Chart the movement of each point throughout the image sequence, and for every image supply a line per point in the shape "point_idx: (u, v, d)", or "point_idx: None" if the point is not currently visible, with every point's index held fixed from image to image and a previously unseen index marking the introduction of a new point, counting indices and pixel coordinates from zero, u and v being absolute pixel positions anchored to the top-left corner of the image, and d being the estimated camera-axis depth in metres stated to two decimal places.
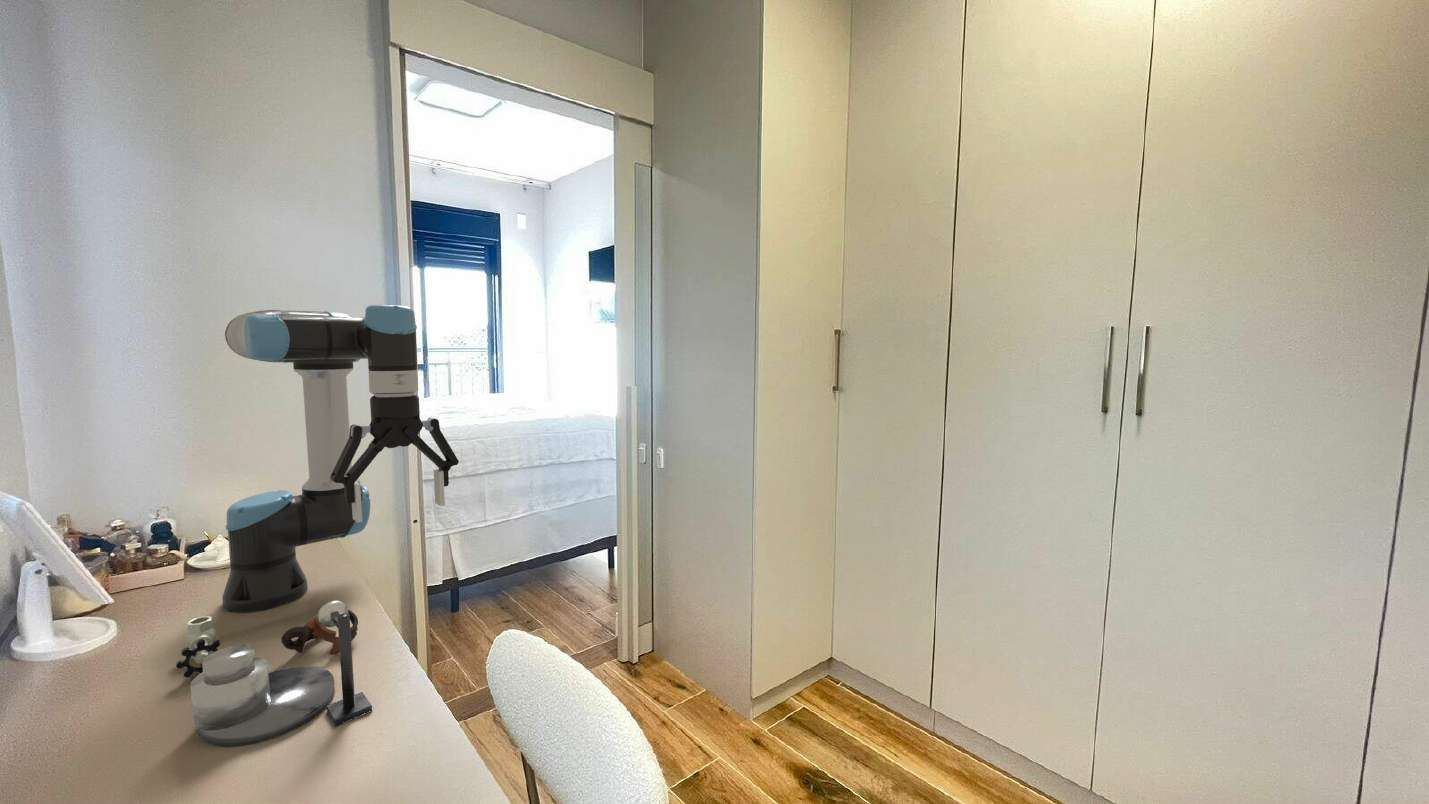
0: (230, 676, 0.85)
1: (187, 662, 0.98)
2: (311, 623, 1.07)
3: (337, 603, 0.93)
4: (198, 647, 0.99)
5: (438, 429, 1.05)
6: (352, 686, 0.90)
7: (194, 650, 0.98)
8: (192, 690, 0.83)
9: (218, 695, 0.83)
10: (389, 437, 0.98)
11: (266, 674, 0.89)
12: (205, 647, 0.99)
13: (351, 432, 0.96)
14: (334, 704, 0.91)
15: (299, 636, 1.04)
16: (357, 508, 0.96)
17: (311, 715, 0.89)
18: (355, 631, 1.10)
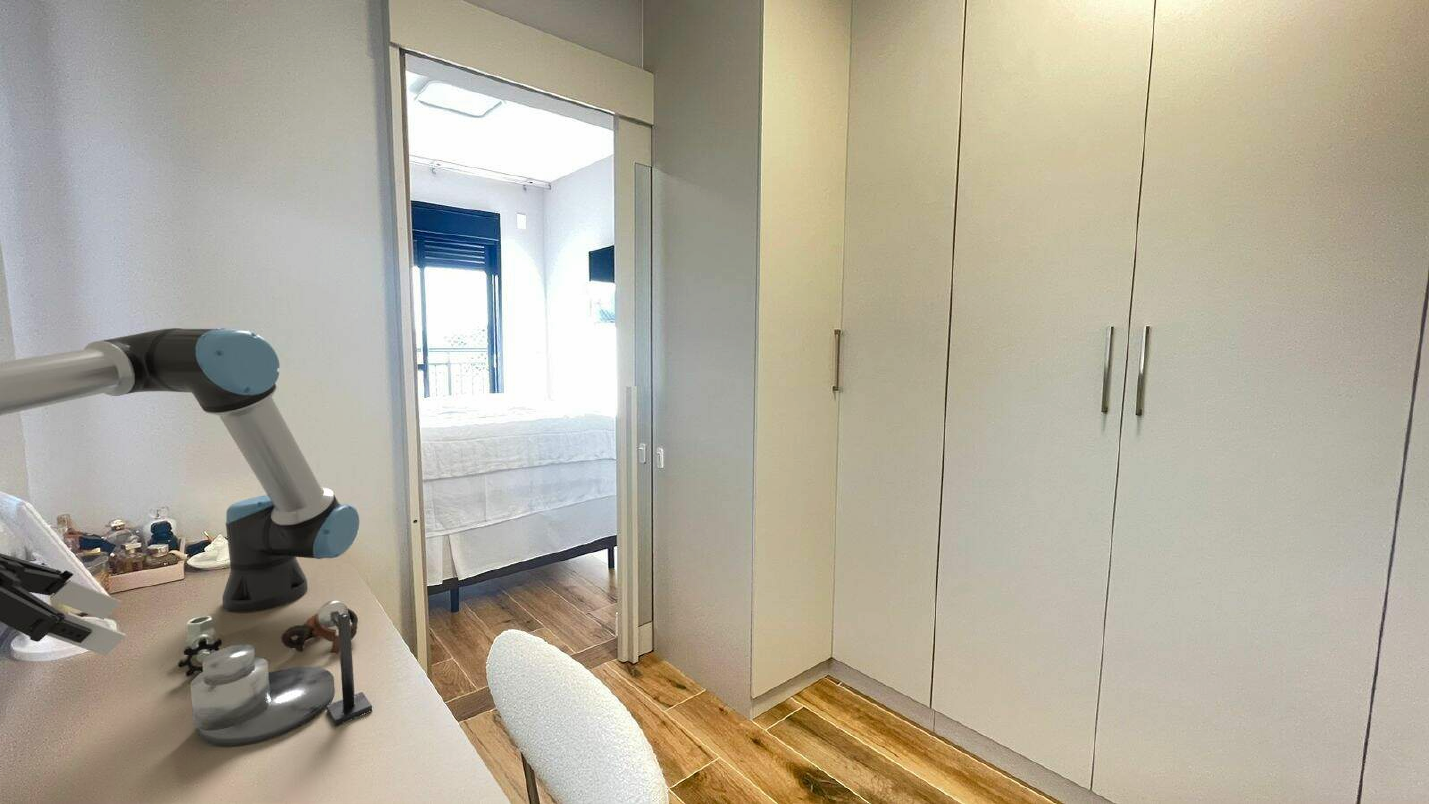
0: (230, 676, 0.85)
1: (189, 661, 0.98)
2: (311, 622, 1.07)
3: (337, 603, 0.93)
4: (200, 646, 0.99)
5: None
6: (352, 686, 0.90)
7: (196, 649, 0.99)
8: (192, 690, 0.83)
9: (218, 695, 0.83)
10: None
11: (266, 674, 0.89)
12: (207, 646, 1.00)
13: None
14: (334, 704, 0.91)
15: (299, 635, 1.05)
16: None
17: (311, 715, 0.89)
18: (355, 630, 1.11)
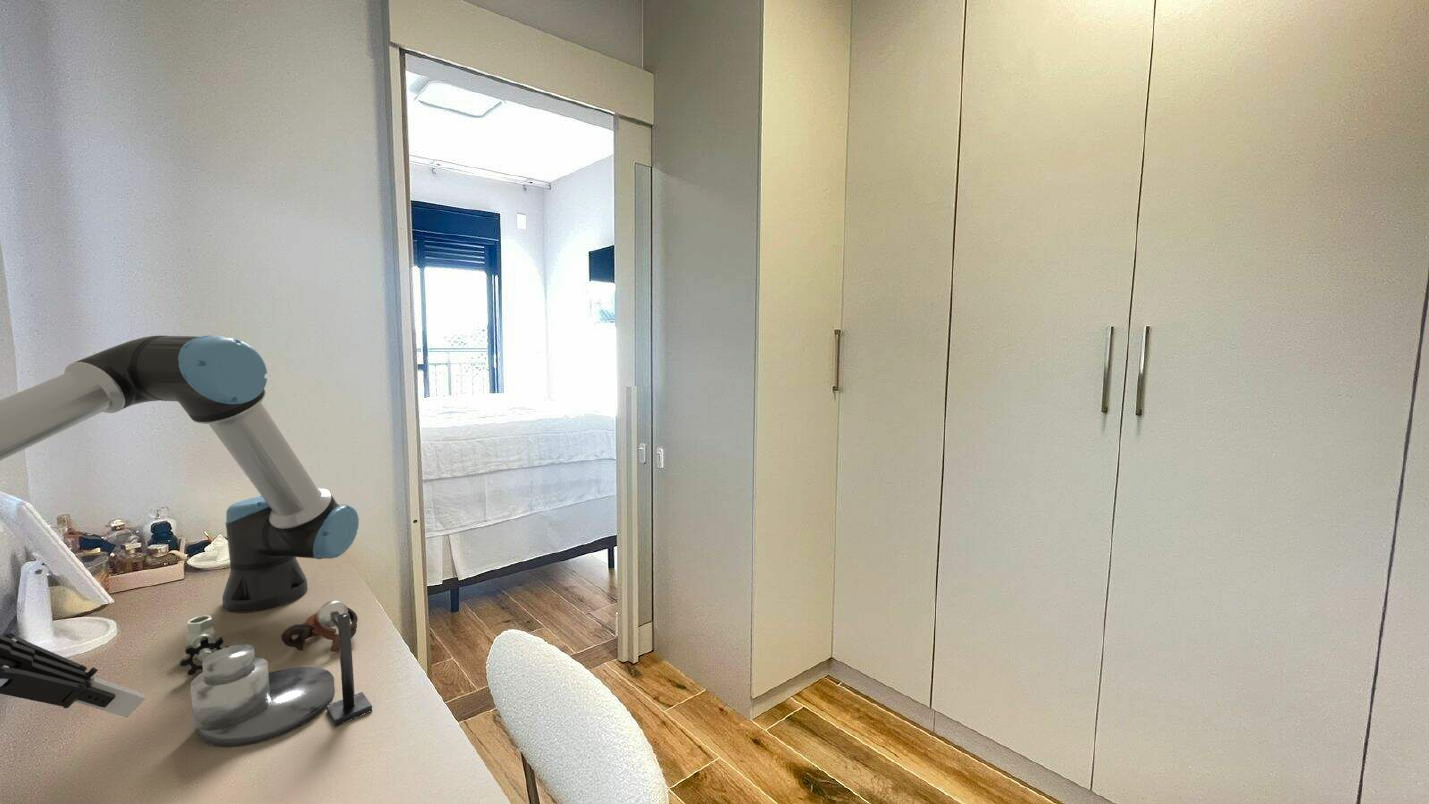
0: (230, 676, 0.85)
1: (191, 660, 0.98)
2: (311, 621, 1.07)
3: (337, 603, 0.93)
4: (201, 645, 0.99)
5: None
6: (352, 686, 0.90)
7: (198, 648, 0.99)
8: (192, 690, 0.83)
9: (218, 695, 0.83)
10: None
11: (266, 674, 0.89)
12: (209, 645, 1.00)
13: None
14: (334, 704, 0.91)
15: (299, 634, 1.05)
16: None
17: (311, 715, 0.89)
18: (354, 629, 1.11)
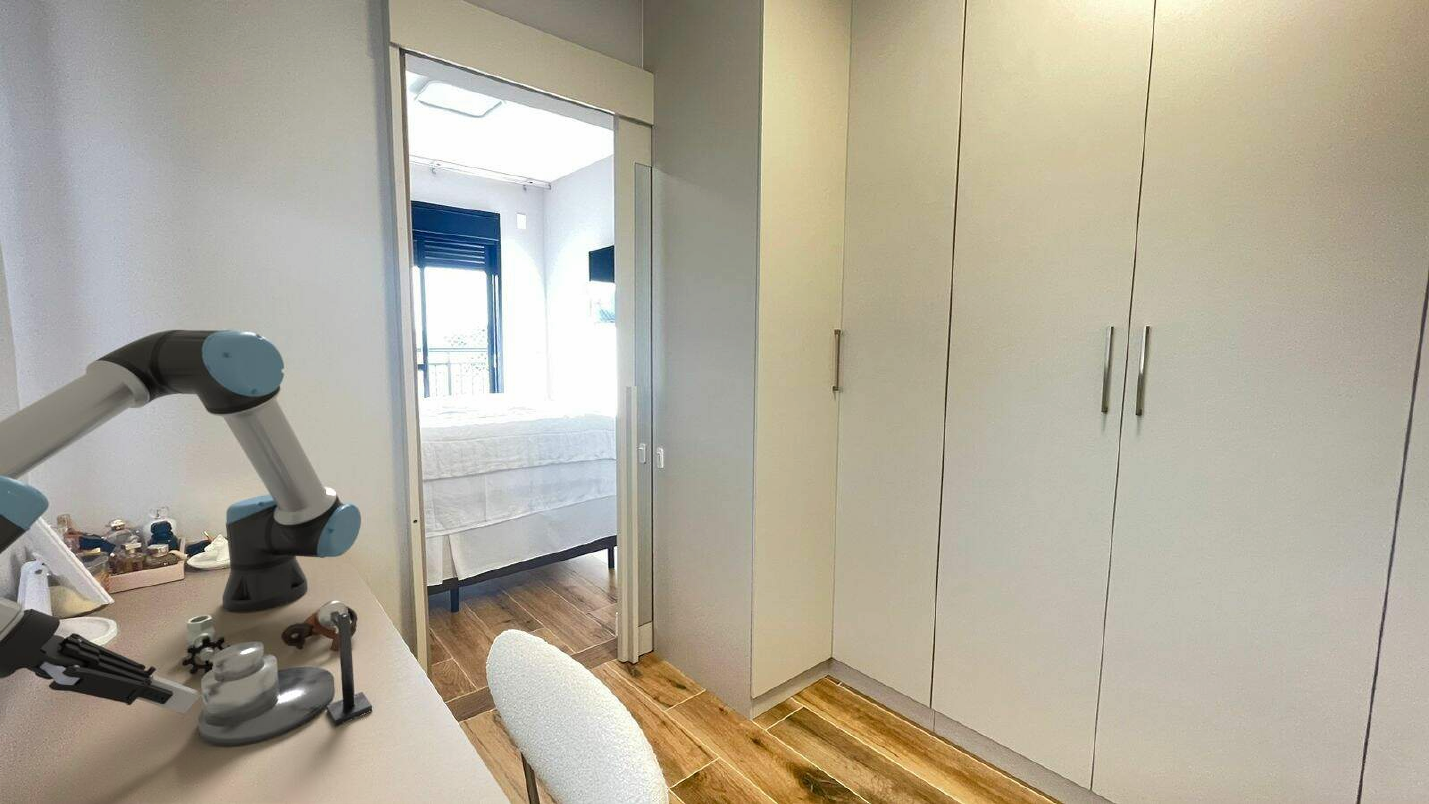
0: (240, 672, 0.85)
1: (193, 659, 0.99)
2: (311, 620, 1.08)
3: (337, 603, 0.93)
4: (203, 644, 0.99)
5: None
6: (352, 686, 0.90)
7: (199, 647, 0.99)
8: (203, 686, 0.84)
9: (229, 691, 0.84)
10: None
11: (275, 670, 0.90)
12: (210, 644, 1.00)
13: None
14: (334, 704, 0.91)
15: (299, 633, 1.06)
16: None
17: (311, 715, 0.89)
18: (354, 627, 1.12)
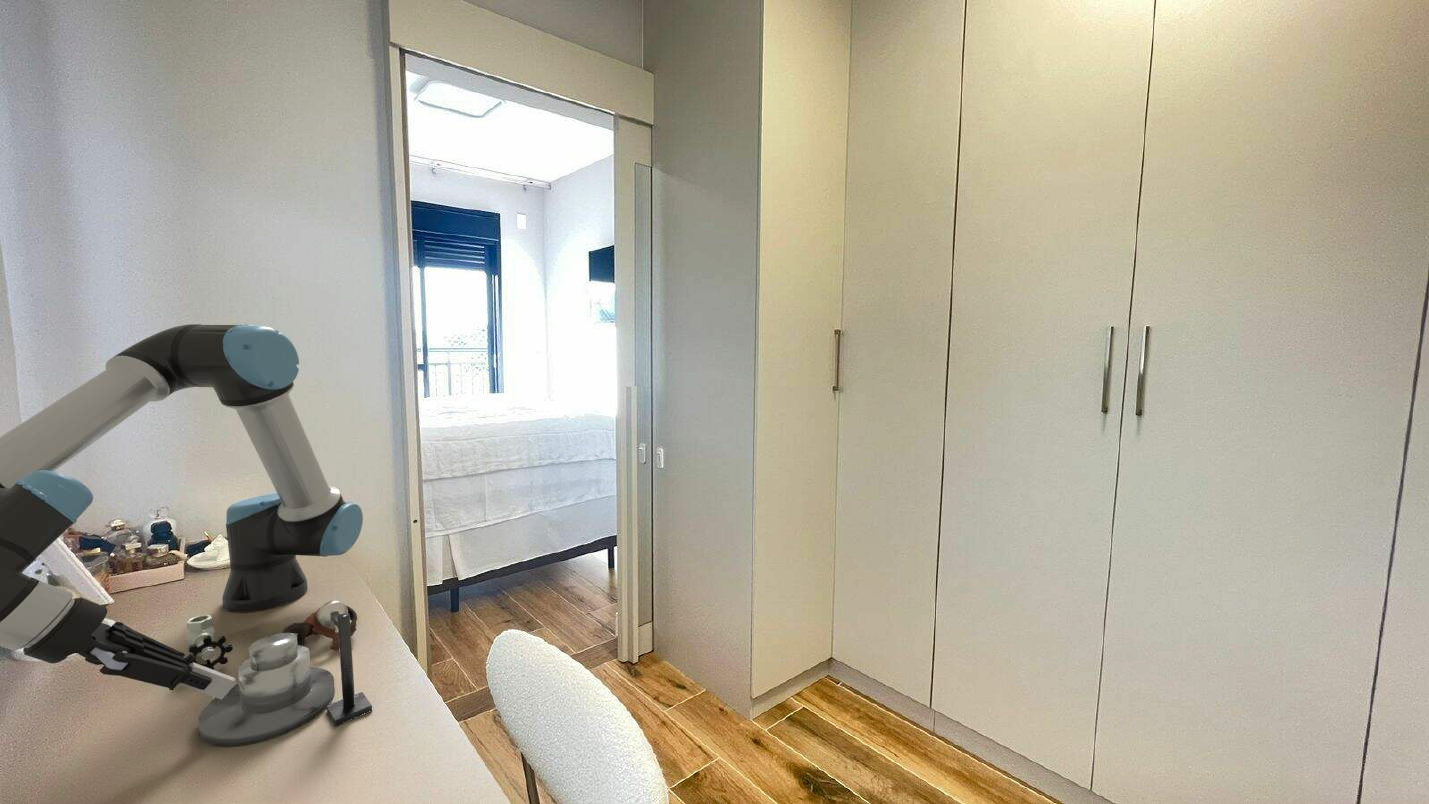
0: (274, 663, 0.88)
1: (194, 658, 0.99)
2: (311, 619, 1.08)
3: (337, 603, 0.93)
4: (205, 643, 1.00)
5: None
6: (352, 686, 0.90)
7: (201, 646, 0.99)
8: (239, 675, 0.87)
9: (263, 680, 0.86)
10: None
11: (308, 662, 0.92)
12: (212, 643, 1.00)
13: None
14: (334, 704, 0.91)
15: (299, 632, 1.06)
16: None
17: (311, 715, 0.89)
18: (354, 627, 1.12)
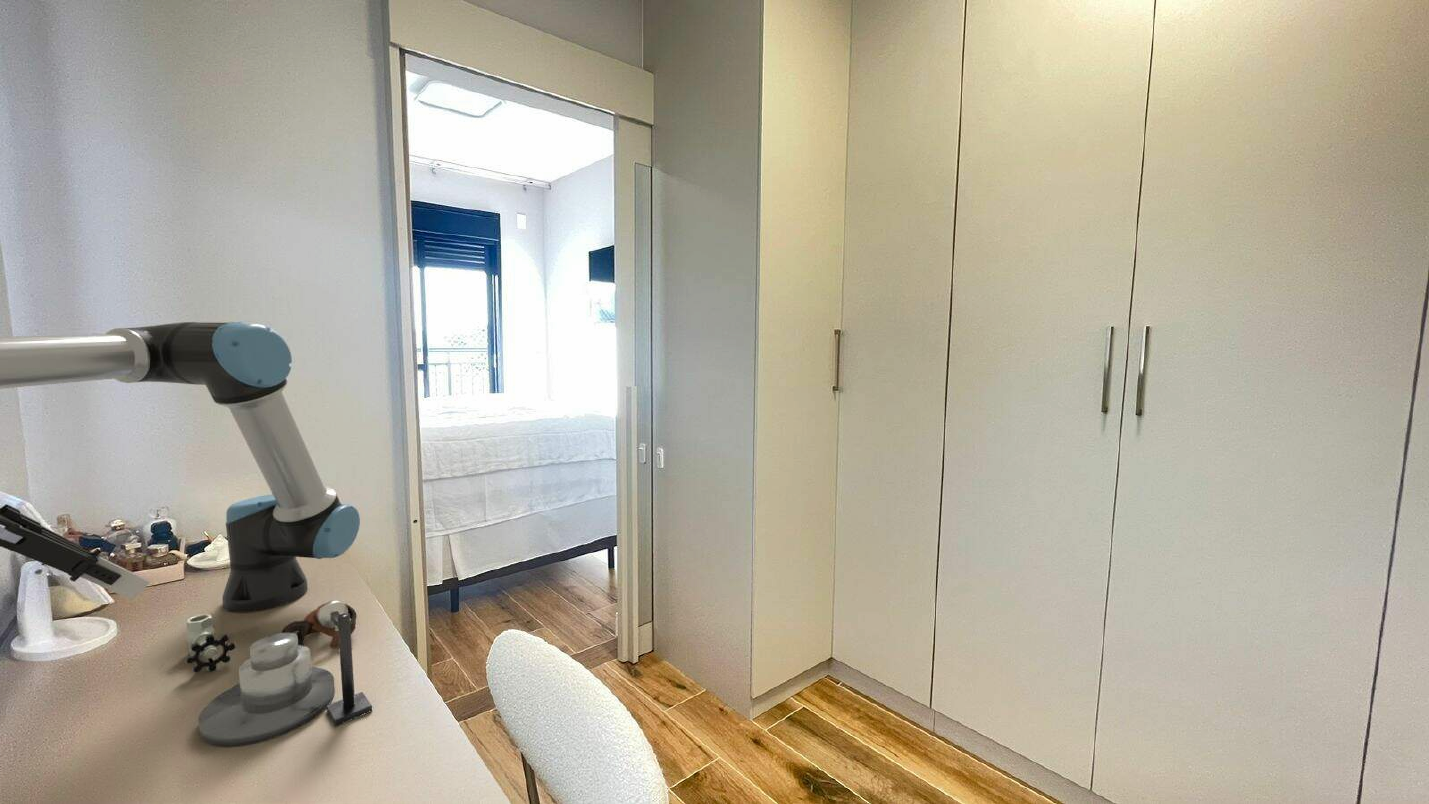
0: (275, 662, 0.88)
1: (197, 657, 0.99)
2: (310, 617, 1.09)
3: (337, 603, 0.93)
4: (207, 642, 1.00)
5: (8, 548, 0.67)
6: (352, 686, 0.90)
7: (204, 645, 1.00)
8: (240, 675, 0.87)
9: (264, 680, 0.86)
10: None
11: (308, 662, 0.92)
12: (214, 642, 1.01)
13: None
14: (334, 704, 0.91)
15: (299, 630, 1.06)
16: None
17: (311, 715, 0.89)
18: (354, 625, 1.13)
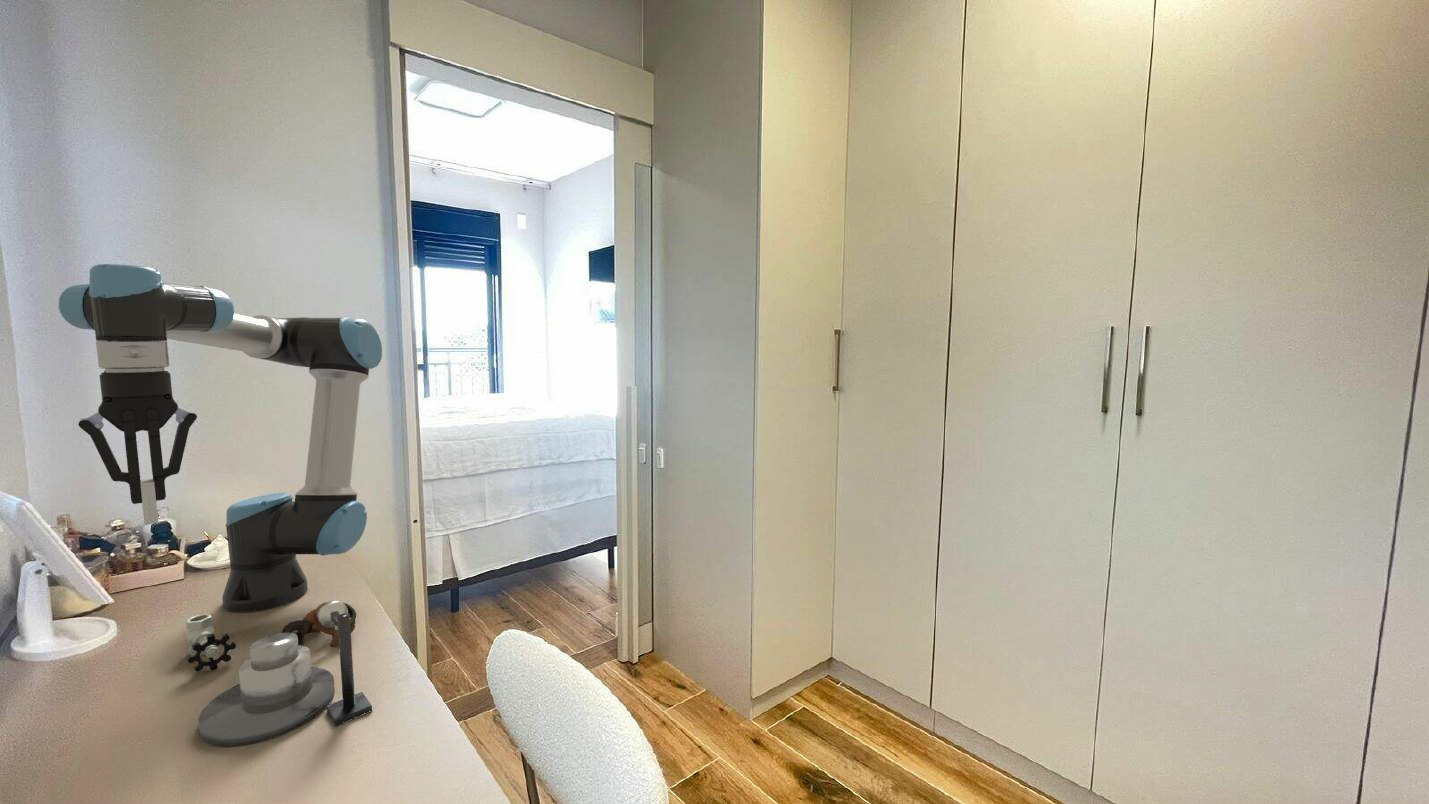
0: (275, 662, 0.88)
1: (198, 656, 1.00)
2: (310, 617, 1.09)
3: (337, 603, 0.93)
4: (208, 641, 1.00)
5: (188, 426, 0.90)
6: (352, 686, 0.90)
7: (205, 644, 1.00)
8: (240, 675, 0.87)
9: (264, 680, 0.86)
10: (130, 420, 0.85)
11: (308, 662, 0.92)
12: (215, 641, 1.01)
13: None
14: (334, 704, 0.91)
15: (299, 629, 1.07)
16: (144, 509, 0.87)
17: (311, 715, 0.89)
18: (353, 624, 1.13)
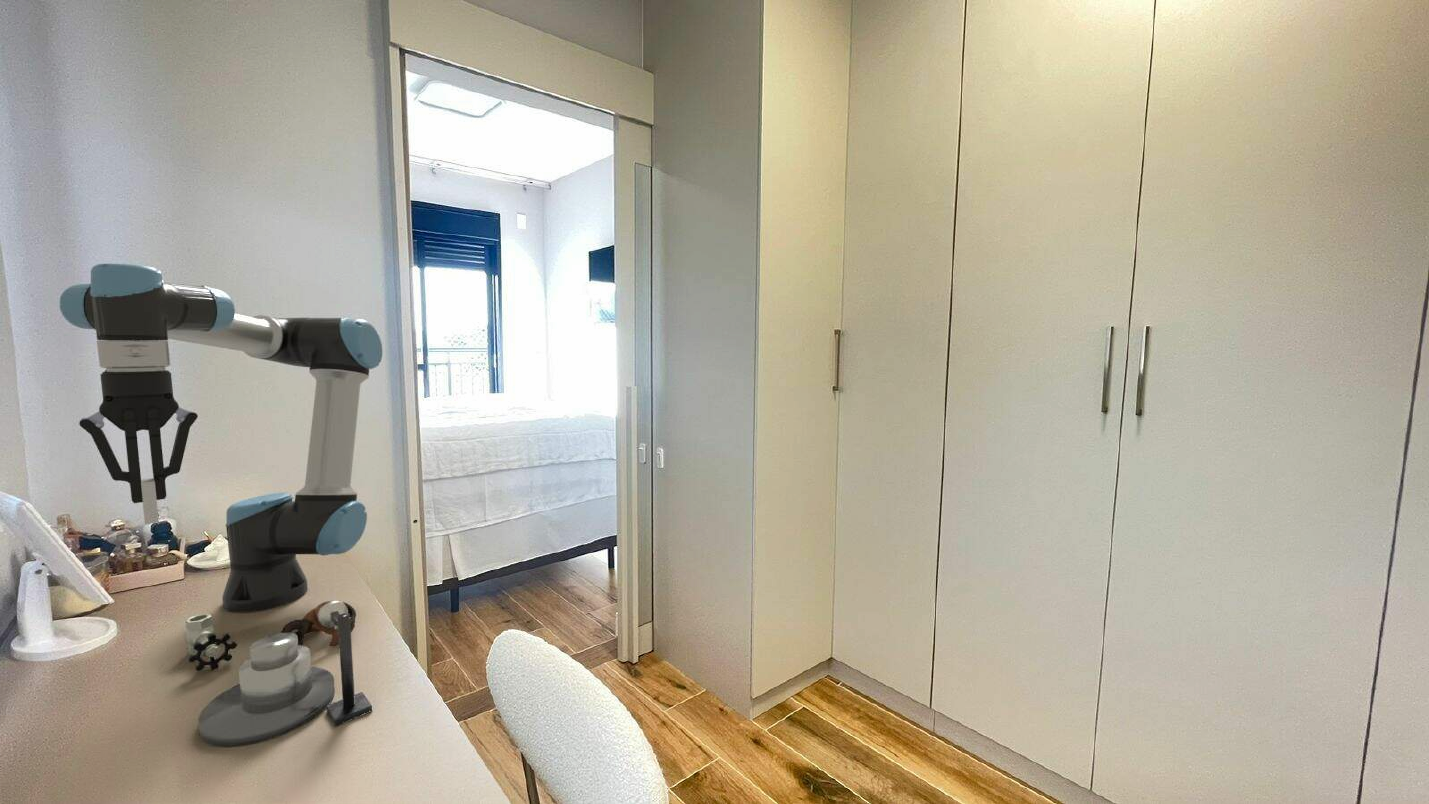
0: (275, 662, 0.88)
1: (199, 656, 1.00)
2: (310, 616, 1.09)
3: (337, 603, 0.93)
4: (209, 641, 1.01)
5: (188, 425, 0.90)
6: (352, 686, 0.90)
7: (206, 644, 1.00)
8: (240, 675, 0.87)
9: (264, 680, 0.86)
10: (131, 419, 0.85)
11: (308, 662, 0.92)
12: (216, 640, 1.01)
13: None
14: (334, 704, 0.91)
15: (299, 629, 1.07)
16: (145, 508, 0.87)
17: (311, 715, 0.89)
18: (353, 623, 1.13)
